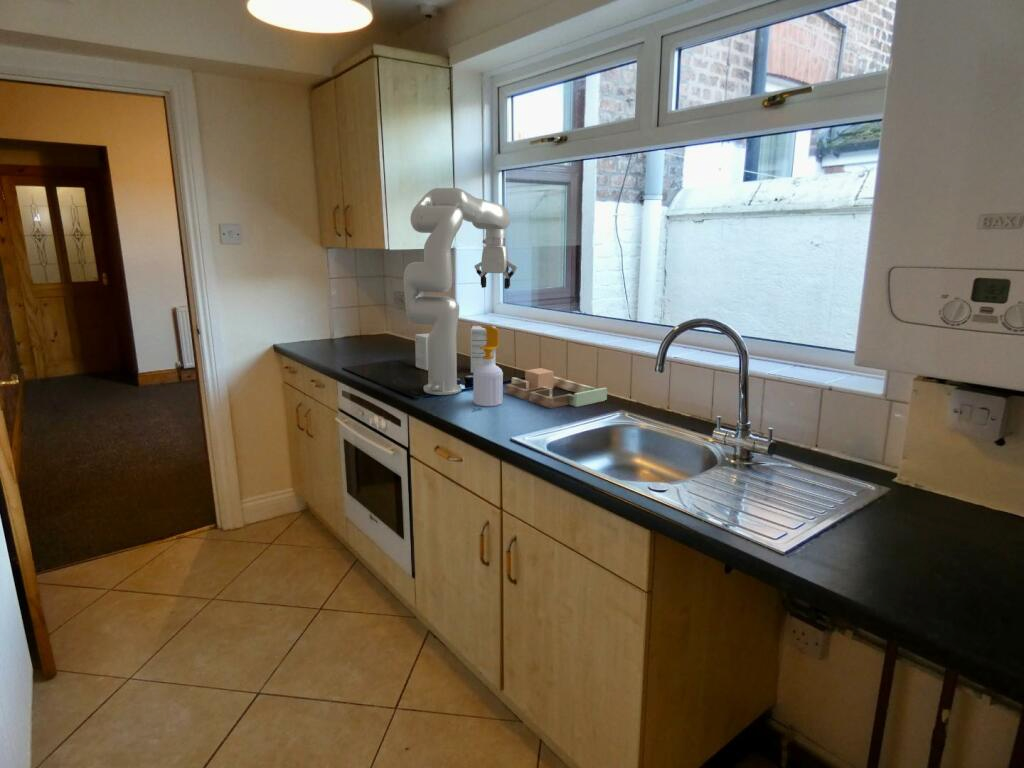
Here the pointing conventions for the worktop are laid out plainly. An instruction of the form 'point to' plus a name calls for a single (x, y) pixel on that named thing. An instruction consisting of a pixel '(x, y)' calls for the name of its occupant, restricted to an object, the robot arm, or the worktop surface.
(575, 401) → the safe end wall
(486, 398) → the soap bottle
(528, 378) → the block
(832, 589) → the worktop surface
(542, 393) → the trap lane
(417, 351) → the small box
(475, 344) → the supplement box
